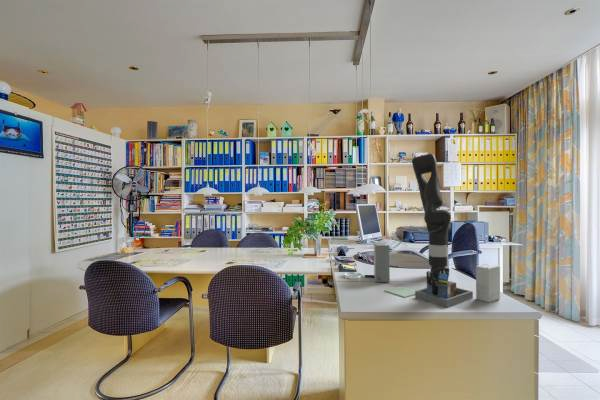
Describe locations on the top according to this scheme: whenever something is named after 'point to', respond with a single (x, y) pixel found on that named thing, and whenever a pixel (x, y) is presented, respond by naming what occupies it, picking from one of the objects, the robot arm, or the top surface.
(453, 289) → the walnut block
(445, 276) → the label tape box
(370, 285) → the top surface
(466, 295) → the parts bin
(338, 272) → the top surface
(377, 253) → the hard drive box
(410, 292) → the mat
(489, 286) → the skincare box
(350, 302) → the top surface
